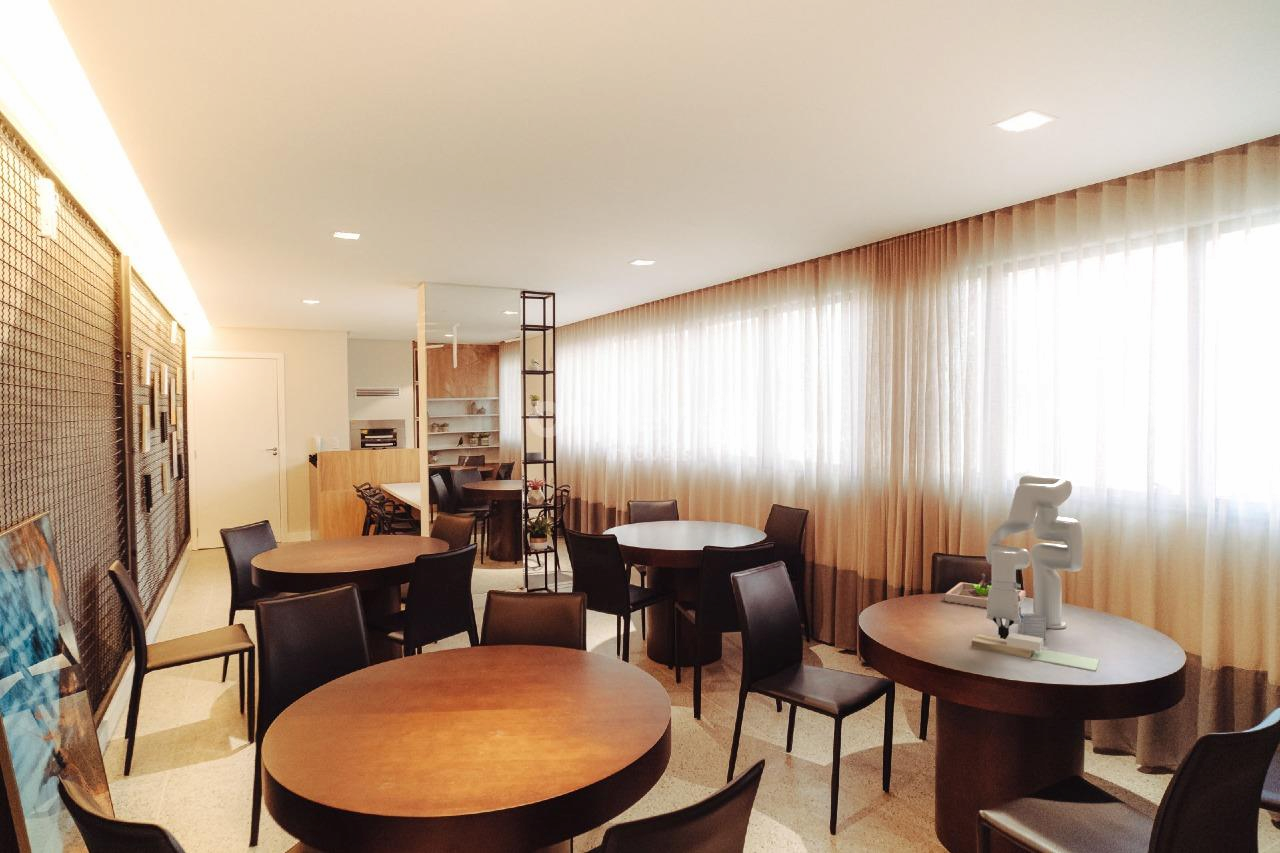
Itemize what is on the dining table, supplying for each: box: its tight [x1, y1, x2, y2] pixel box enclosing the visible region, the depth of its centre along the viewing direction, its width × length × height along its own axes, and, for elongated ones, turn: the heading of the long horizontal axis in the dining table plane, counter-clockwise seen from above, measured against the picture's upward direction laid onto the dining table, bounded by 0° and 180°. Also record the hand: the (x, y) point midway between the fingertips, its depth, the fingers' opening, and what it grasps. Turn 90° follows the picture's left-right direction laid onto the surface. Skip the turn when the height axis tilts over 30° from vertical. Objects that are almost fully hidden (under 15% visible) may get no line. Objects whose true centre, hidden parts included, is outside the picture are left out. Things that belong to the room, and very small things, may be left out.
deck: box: [971, 633, 1035, 659], centre depth 239 cm, size 10×18×2 cm, turn 52°
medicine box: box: [1017, 612, 1047, 641], centre depth 251 cm, size 8×4×9 cm, turn 84°
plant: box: [958, 573, 992, 599], centre depth 306 cm, size 20×20×11 cm
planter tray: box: [944, 581, 1026, 609], centre depth 304 cm, size 27×27×4 cm
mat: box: [1030, 649, 1100, 672], centre depth 228 cm, size 12×18×1 cm, turn 52°
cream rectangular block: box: [1006, 632, 1044, 652], centre depth 235 cm, size 6×10×3 cm, turn 51°
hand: (1003, 637), depth 239 cm, fingers closed
